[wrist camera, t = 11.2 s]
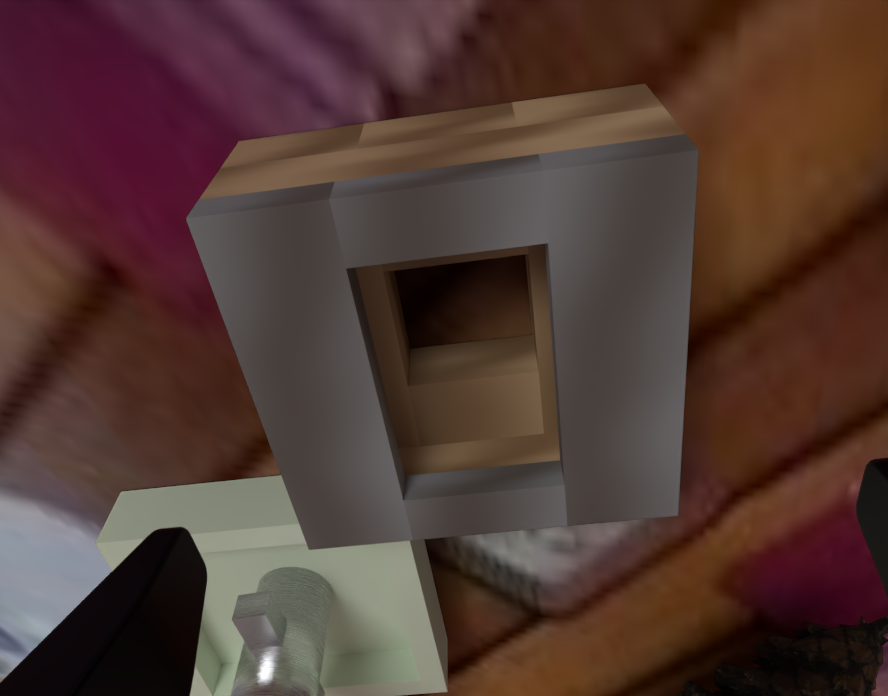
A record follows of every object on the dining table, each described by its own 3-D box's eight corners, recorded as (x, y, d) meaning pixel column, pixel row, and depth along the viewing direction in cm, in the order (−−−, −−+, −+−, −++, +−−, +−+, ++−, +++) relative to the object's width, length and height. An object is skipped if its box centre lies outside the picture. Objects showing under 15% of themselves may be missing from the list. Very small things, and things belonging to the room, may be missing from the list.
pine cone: (692, 865, 34) (600, 812, 33) (679, 760, 38) (598, 712, 37) (1043, 678, 25) (930, 603, 25) (974, 572, 30) (877, 505, 29)
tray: (406, 462, 27) (403, 513, 25) (447, 639, 33) (447, 691, 31) (120, 491, 28) (95, 543, 26) (212, 658, 34) (198, 710, 32)
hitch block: (645, 83, 19) (698, 150, 15) (640, 406, 25) (678, 515, 21) (239, 141, 20) (186, 218, 16) (330, 439, 26) (309, 550, 22)
